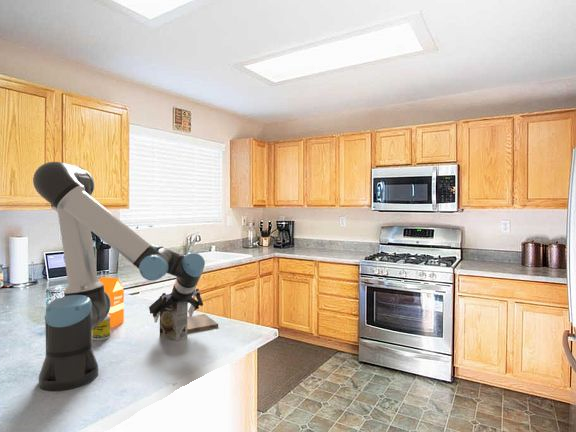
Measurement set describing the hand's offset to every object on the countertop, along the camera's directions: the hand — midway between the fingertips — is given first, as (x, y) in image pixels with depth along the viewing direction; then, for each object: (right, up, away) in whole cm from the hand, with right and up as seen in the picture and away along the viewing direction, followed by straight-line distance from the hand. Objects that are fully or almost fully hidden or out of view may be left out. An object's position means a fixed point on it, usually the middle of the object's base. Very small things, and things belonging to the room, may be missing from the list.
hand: (172, 316), depth 144 cm
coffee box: (+1, -8, -2) cm, 8 cm away
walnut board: (+5, -7, +12) cm, 15 cm away
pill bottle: (-26, -7, -4) cm, 28 cm away
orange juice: (-32, -7, +13) cm, 35 cm away
